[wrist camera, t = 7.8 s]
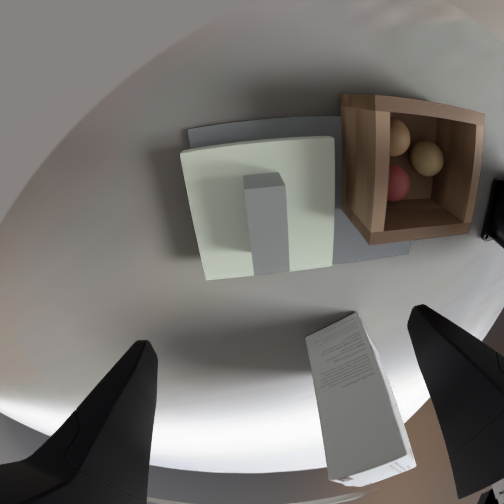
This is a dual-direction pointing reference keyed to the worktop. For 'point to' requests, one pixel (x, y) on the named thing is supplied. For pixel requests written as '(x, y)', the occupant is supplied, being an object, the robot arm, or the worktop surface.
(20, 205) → the worktop surface
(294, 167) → the lid
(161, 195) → the worktop surface
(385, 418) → the skincare box
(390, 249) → the mat
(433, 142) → the box
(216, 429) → the worktop surface
